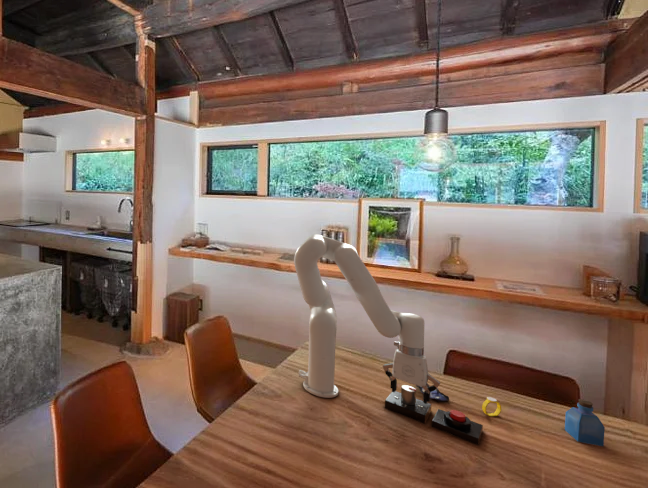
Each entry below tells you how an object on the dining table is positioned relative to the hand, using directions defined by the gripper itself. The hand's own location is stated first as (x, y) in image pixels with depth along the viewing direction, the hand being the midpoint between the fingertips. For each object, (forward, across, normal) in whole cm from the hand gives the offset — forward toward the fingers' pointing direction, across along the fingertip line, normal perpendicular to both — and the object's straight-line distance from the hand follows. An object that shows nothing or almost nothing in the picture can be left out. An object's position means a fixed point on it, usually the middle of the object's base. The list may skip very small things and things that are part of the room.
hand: (409, 396), depth 139 cm
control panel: (+5, 0, 0) cm, 5 cm away
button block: (+5, +14, 0) cm, 15 cm away
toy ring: (+6, +21, +19) cm, 28 cm away
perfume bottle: (+6, +43, +26) cm, 50 cm away
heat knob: (+2, 0, 0) cm, 2 cm away
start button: (+2, +14, 0) cm, 14 cm away
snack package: (+6, +3, +18) cm, 19 cm away
